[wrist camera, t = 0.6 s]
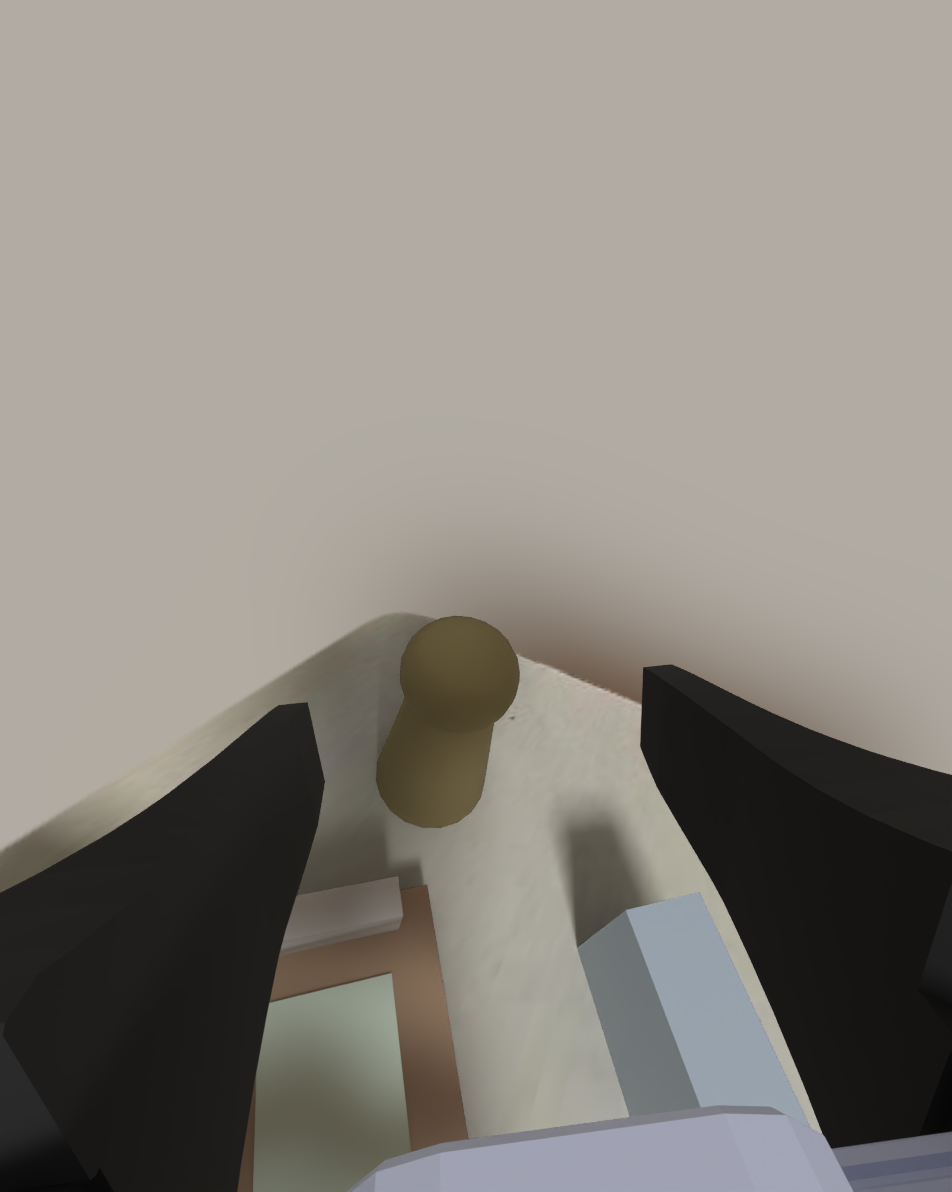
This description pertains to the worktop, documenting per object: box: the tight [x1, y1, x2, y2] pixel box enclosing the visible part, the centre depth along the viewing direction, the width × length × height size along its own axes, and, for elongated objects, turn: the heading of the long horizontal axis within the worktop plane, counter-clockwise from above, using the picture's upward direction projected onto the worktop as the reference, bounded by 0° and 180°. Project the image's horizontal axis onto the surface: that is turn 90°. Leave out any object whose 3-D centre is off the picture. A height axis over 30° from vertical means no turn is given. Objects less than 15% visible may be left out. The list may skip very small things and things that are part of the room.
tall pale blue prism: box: [577, 892, 811, 1128], centre depth 21 cm, size 9×4×6 cm, turn 13°
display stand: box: [237, 876, 468, 1192], centre depth 18 cm, size 14×9×4 cm, turn 13°
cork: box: [376, 616, 520, 828], centre depth 26 cm, size 6×6×11 cm
